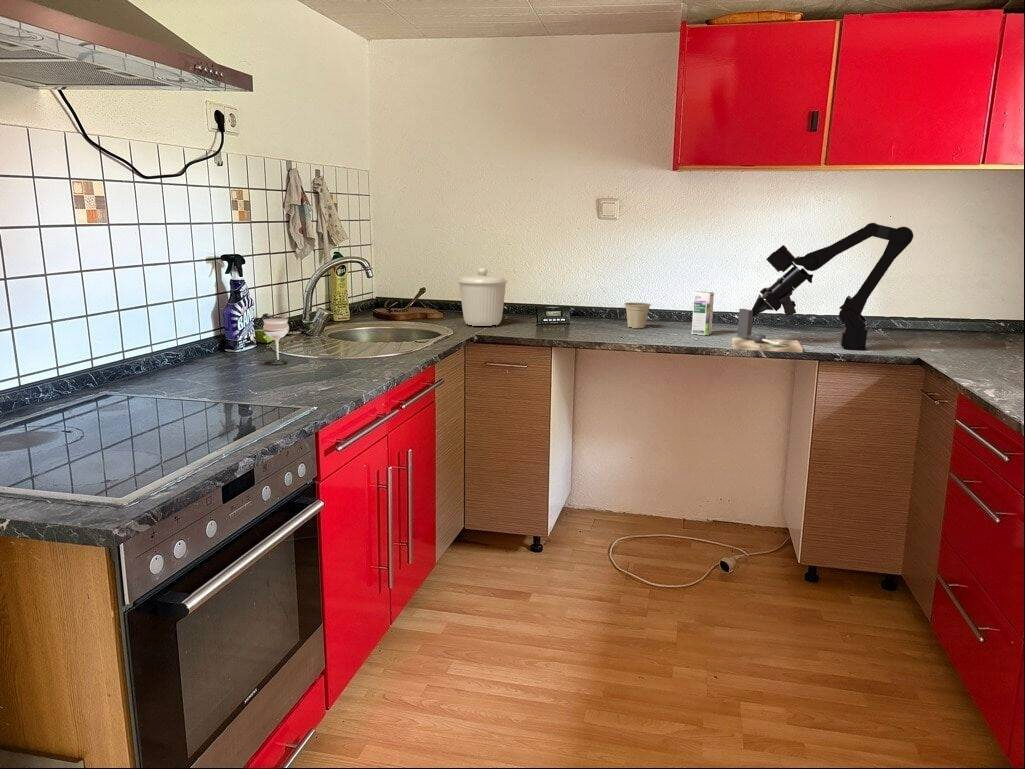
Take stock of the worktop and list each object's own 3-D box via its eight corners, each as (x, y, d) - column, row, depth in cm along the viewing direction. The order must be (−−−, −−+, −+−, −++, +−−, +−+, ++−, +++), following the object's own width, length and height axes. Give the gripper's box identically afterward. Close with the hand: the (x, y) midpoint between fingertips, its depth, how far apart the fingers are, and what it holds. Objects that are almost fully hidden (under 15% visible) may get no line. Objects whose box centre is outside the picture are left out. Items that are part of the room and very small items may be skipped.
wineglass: (285, 366, 207) (282, 321, 204) (261, 365, 208) (258, 321, 205) (295, 361, 214) (292, 318, 211) (271, 360, 214) (269, 317, 212)
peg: (744, 336, 251) (746, 308, 249) (784, 346, 233) (786, 316, 231) (734, 336, 250) (736, 308, 248) (774, 346, 232) (776, 317, 230)
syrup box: (690, 334, 263) (693, 292, 259) (695, 332, 268) (697, 290, 265) (707, 336, 260) (710, 293, 257) (711, 333, 265) (714, 291, 262)
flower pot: (650, 326, 282) (651, 302, 280) (649, 330, 273) (650, 305, 271) (624, 325, 284) (625, 302, 282) (622, 329, 275) (623, 305, 273)
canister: (515, 323, 287) (515, 266, 282) (494, 330, 271) (494, 269, 266) (472, 320, 294) (471, 265, 289) (449, 327, 278) (448, 268, 273)
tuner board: (797, 343, 246) (797, 339, 246) (802, 352, 230) (802, 348, 230) (732, 340, 251) (732, 336, 251) (733, 349, 235) (733, 345, 235)
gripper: (809, 304, 233) (768, 339, 238) (803, 298, 251) (765, 331, 256) (783, 278, 233) (743, 313, 238) (779, 273, 251) (742, 306, 256)
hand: (749, 316), depth 247 cm, fingers closed
